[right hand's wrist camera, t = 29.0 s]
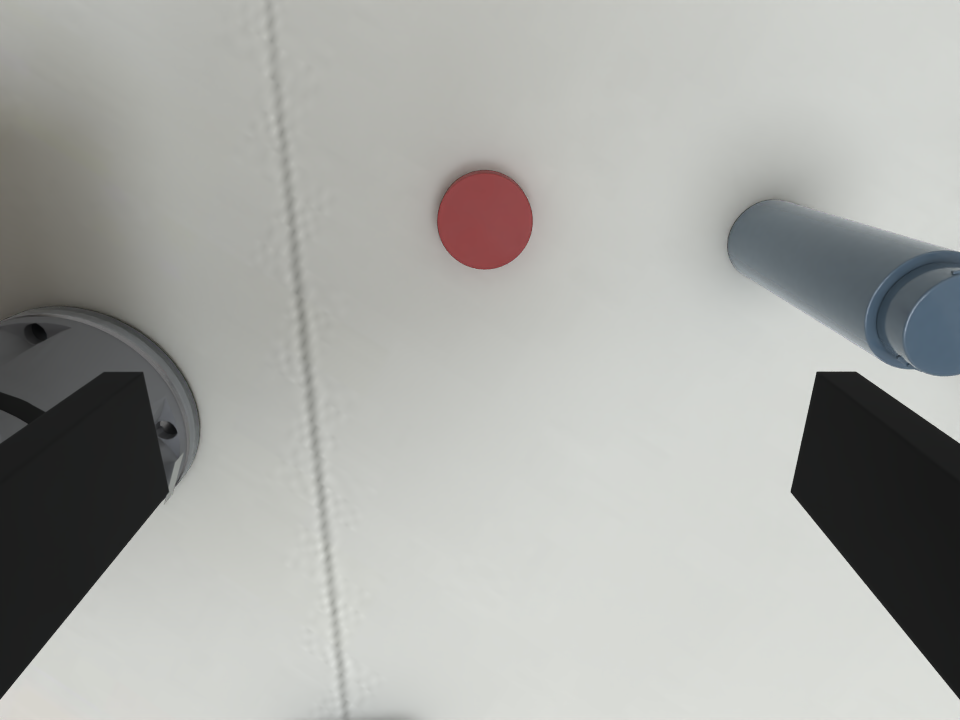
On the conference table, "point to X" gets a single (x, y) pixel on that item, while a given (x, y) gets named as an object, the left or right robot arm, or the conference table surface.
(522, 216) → the lid
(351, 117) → the conference table surface
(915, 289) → the blue-grey tall cylinder
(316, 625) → the conference table surface
